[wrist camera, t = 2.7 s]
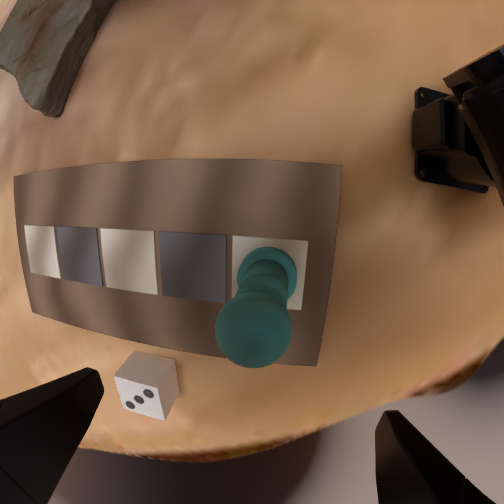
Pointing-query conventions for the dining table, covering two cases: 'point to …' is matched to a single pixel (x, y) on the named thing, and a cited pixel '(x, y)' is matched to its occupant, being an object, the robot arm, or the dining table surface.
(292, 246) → the board
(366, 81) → the dining table surface
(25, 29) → the marble piece
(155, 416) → the die
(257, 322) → the pawn
